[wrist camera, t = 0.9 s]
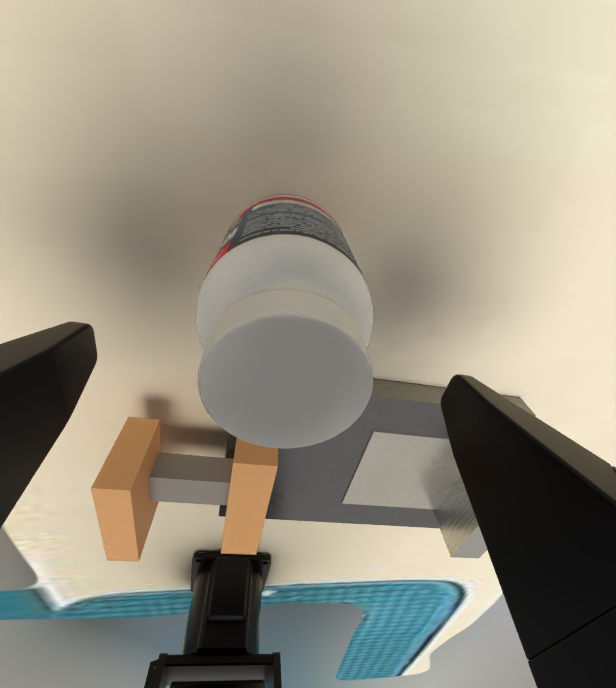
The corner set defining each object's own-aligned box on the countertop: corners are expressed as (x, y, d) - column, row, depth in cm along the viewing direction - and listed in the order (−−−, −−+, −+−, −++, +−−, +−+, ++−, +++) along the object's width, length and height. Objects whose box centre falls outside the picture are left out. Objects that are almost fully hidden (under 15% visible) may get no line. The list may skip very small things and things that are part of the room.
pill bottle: (224, 185, 13) (149, 266, 6) (354, 200, 14) (435, 290, 6) (226, 306, 16) (177, 463, 9) (333, 314, 17) (374, 467, 9)
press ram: (259, 505, 22) (254, 574, 19) (137, 497, 21) (109, 569, 17) (278, 418, 18) (277, 486, 14) (127, 402, 17) (87, 472, 13)
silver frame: (439, 509, 27) (465, 572, 23) (222, 495, 24) (210, 564, 20) (520, 397, 21) (573, 459, 17) (238, 361, 18) (226, 425, 14)
